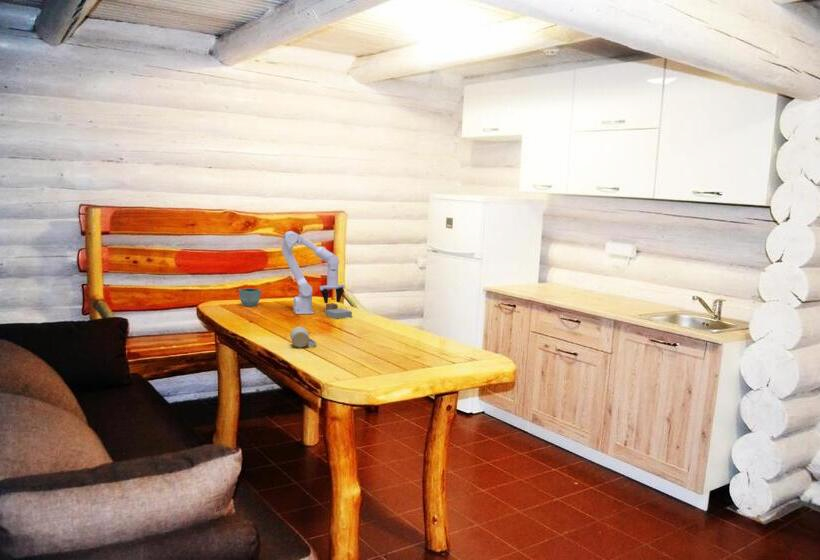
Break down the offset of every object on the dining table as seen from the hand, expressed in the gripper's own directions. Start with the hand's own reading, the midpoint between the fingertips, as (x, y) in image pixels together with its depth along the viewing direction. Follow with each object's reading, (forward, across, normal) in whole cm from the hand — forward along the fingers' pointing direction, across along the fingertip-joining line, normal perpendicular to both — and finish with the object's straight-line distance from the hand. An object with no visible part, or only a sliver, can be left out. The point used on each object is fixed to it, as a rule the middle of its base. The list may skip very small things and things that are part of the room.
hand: (332, 302), depth 366 cm
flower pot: (+5, -30, +37) cm, 48 cm away
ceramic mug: (+6, -52, -59) cm, 79 cm away
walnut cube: (+6, 0, 0) cm, 6 cm away
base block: (+5, -3, -12) cm, 13 cm away
